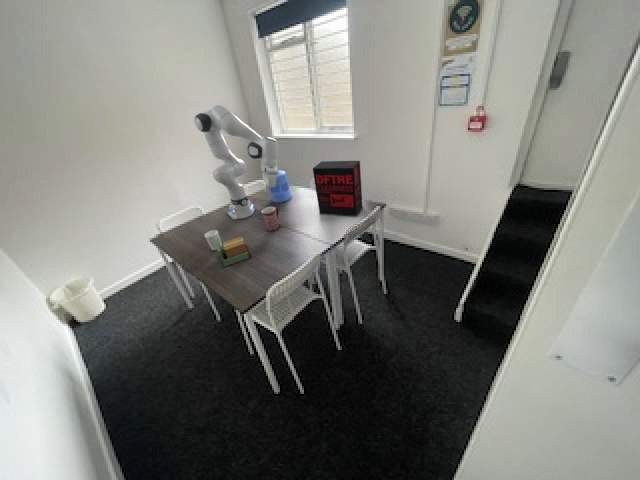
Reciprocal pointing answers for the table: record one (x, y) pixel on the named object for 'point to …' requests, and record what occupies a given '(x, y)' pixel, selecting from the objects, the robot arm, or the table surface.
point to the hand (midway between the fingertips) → (268, 191)
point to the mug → (271, 218)
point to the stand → (232, 259)
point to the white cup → (213, 239)
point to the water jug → (280, 188)
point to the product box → (338, 187)
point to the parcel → (234, 247)
